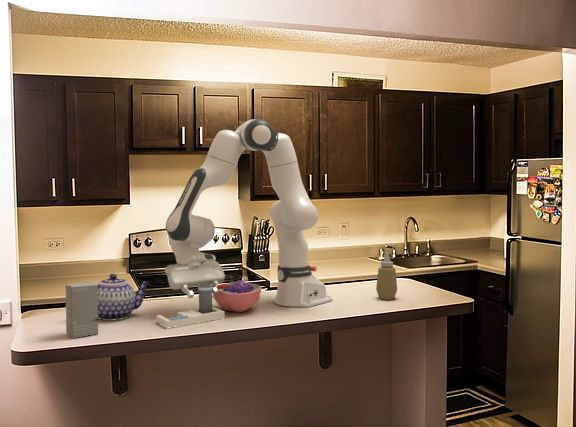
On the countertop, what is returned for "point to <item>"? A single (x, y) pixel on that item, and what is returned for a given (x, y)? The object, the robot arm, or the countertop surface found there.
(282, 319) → the countertop surface
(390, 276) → the squeeze bottle
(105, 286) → the teapot
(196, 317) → the cream holder tray
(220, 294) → the cell model
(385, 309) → the countertop surface
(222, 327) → the countertop surface
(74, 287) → the skincare box
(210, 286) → the stub
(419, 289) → the countertop surface
